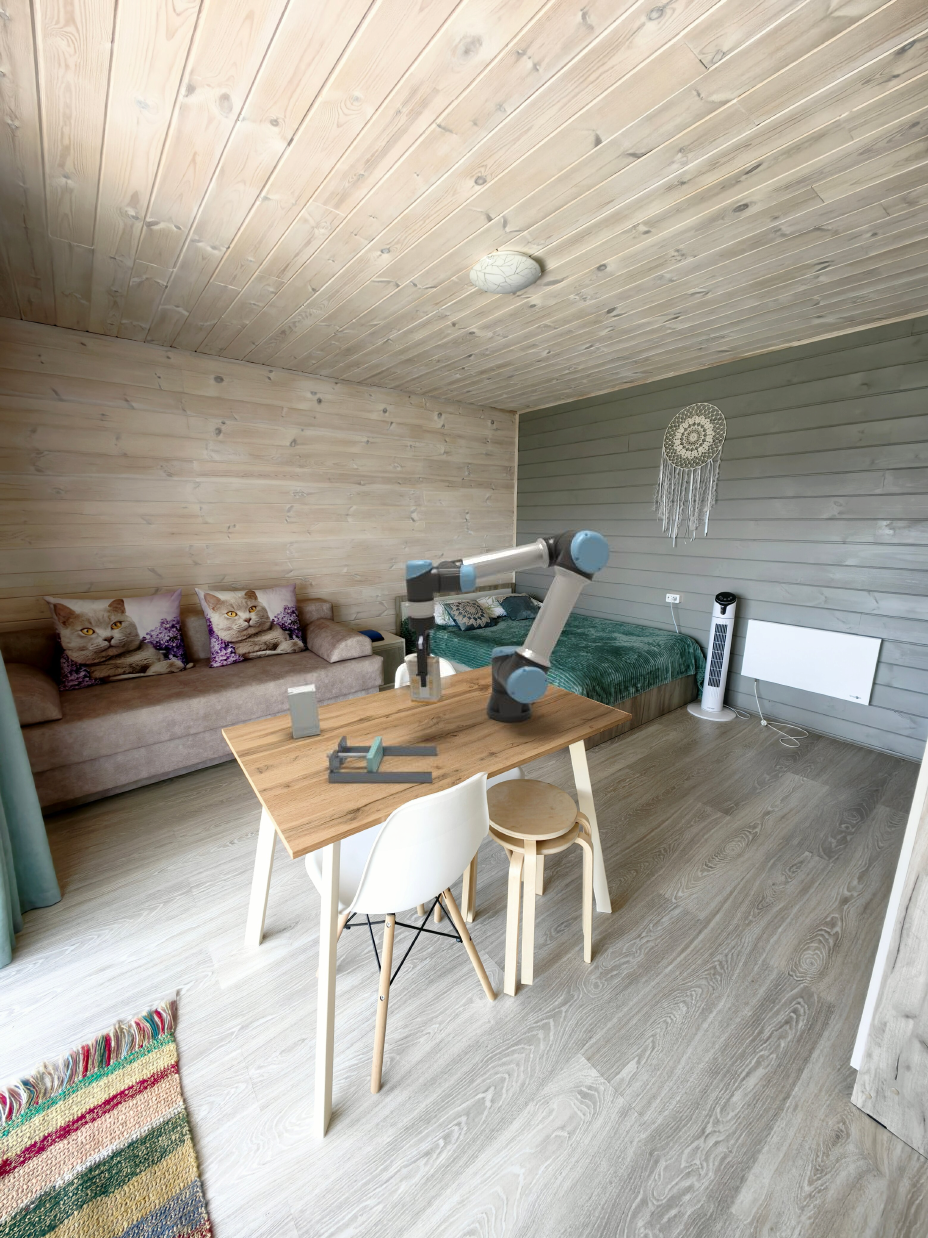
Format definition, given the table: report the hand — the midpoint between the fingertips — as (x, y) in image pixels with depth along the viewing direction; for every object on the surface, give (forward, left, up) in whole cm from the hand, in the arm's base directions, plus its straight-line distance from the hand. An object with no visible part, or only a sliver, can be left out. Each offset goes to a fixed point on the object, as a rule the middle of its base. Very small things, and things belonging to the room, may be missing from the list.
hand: (426, 692), depth 140 cm
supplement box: (0, 0, -3) cm, 3 cm away
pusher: (+18, +16, -15) cm, 28 cm away
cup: (+7, -46, -15) cm, 49 cm away
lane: (+10, +16, -15) cm, 24 cm away
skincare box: (+39, -5, -15) cm, 42 cm away
